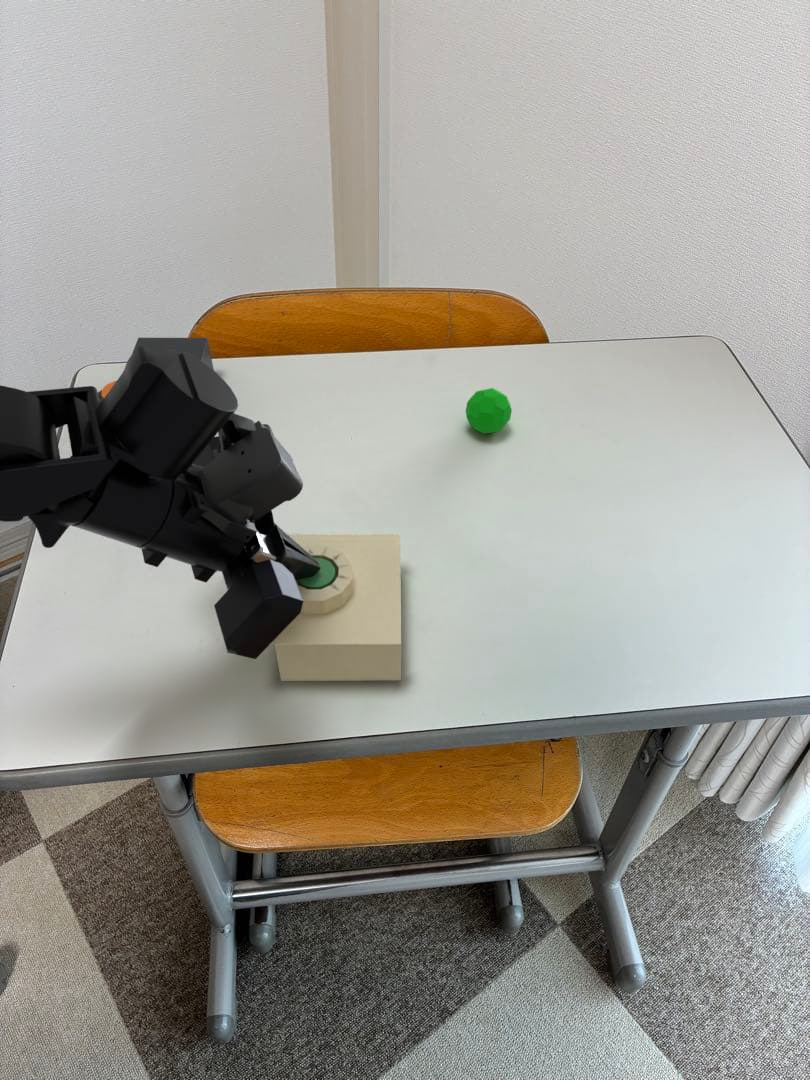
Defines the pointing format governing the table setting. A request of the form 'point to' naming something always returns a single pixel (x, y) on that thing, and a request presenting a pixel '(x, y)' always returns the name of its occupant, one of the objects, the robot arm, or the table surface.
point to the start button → (107, 389)
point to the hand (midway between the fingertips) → (316, 569)
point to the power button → (320, 576)
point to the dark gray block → (177, 348)
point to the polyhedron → (488, 410)
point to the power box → (347, 613)
